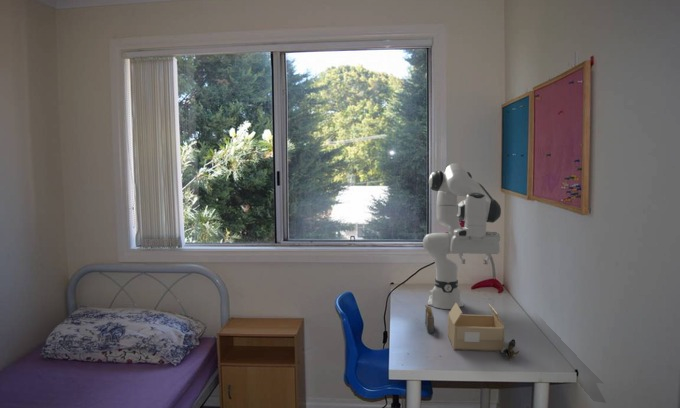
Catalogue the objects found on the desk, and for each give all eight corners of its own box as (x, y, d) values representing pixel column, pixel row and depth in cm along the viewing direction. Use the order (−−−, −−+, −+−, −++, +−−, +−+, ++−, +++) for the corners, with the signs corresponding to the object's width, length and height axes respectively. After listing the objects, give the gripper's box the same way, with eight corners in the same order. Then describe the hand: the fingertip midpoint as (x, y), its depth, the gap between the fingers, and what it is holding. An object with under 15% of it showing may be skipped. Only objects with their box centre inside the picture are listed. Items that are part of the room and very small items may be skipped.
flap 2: (494, 315, 208) (488, 303, 208) (495, 315, 208) (489, 303, 208) (503, 326, 196) (496, 313, 195) (504, 325, 195) (497, 313, 195)
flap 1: (448, 313, 210) (455, 302, 209) (449, 314, 210) (456, 303, 209) (453, 324, 197) (461, 312, 196) (454, 325, 197) (462, 313, 196)
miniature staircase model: (424, 324, 227) (425, 304, 226) (430, 324, 227) (431, 304, 226) (426, 333, 216) (427, 312, 215) (433, 333, 216) (434, 312, 214)
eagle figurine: (524, 359, 186) (519, 346, 194) (515, 345, 185) (510, 332, 193) (506, 367, 188) (502, 353, 197) (497, 353, 187) (493, 340, 195)
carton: (447, 335, 212) (448, 313, 211) (493, 337, 211) (494, 315, 210) (454, 350, 196) (455, 327, 195) (503, 352, 195) (504, 328, 194)
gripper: (498, 231, 205) (497, 262, 206) (449, 230, 206) (449, 261, 207) (502, 232, 199) (501, 265, 200) (452, 232, 200) (451, 264, 201)
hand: (474, 263), depth 203 cm, fingers open, 8 cm apart
